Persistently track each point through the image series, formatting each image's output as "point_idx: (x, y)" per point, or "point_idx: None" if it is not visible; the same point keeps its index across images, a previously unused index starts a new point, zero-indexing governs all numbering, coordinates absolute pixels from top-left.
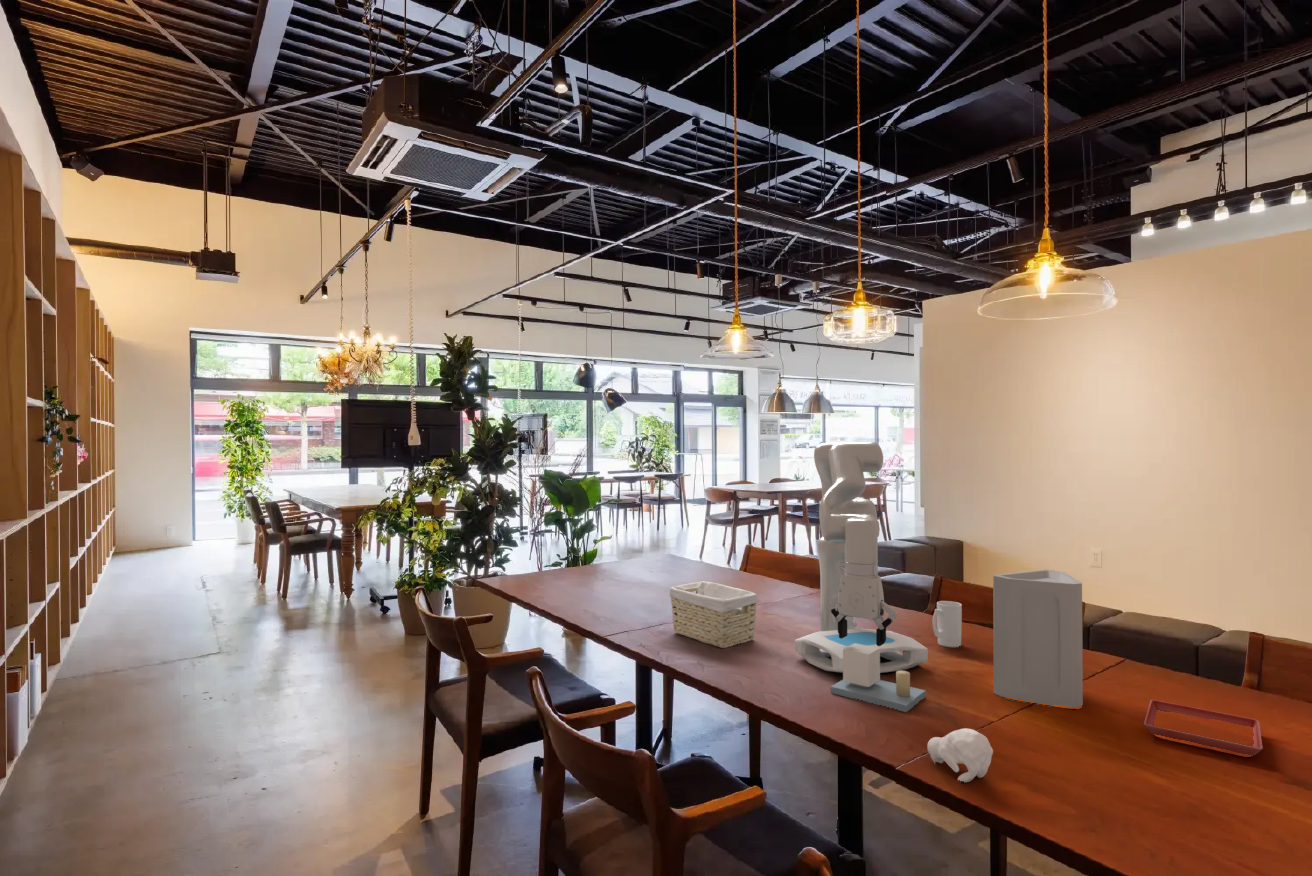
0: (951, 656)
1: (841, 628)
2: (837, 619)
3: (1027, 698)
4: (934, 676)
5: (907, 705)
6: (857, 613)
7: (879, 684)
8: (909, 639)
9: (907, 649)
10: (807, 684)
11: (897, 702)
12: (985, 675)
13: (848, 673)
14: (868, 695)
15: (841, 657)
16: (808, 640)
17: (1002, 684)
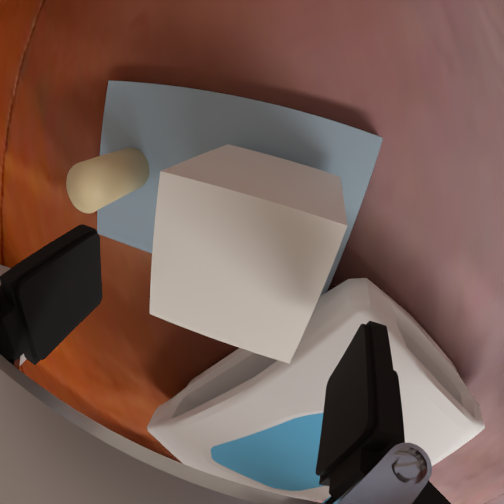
0: (157, 441)
1: (371, 382)
2: (413, 463)
3: (1, 270)
4: (139, 362)
5: (108, 90)
6: (26, 463)
7: None
8: (184, 460)
9: (169, 420)
10: (464, 198)
11: (131, 87)
12: (84, 374)
13: (314, 175)
14: (225, 98)
15: (361, 317)
16: (467, 418)
17: None
